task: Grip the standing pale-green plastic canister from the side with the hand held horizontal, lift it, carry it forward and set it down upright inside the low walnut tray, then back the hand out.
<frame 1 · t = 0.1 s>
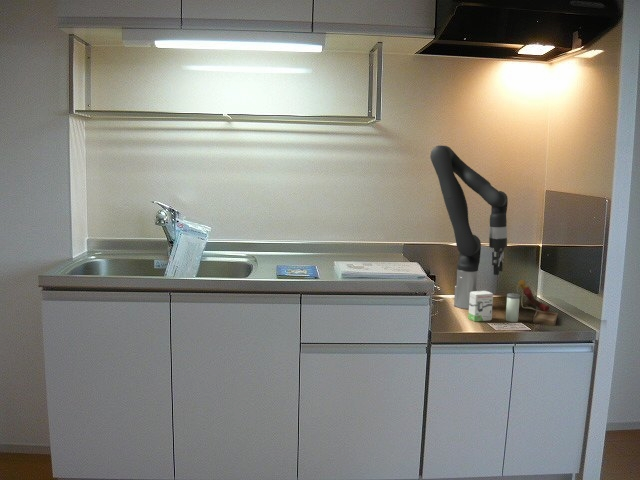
hand: (498, 272, 239), 17 cm above the countertop, tool pointing down, fingers open, 8 cm apart
slingshot: (528, 309, 246), on the countertop
ink box: (479, 319, 228), on the countertop
tray: (545, 319, 228), on the countertop
canister: (511, 320, 228), on the countertop
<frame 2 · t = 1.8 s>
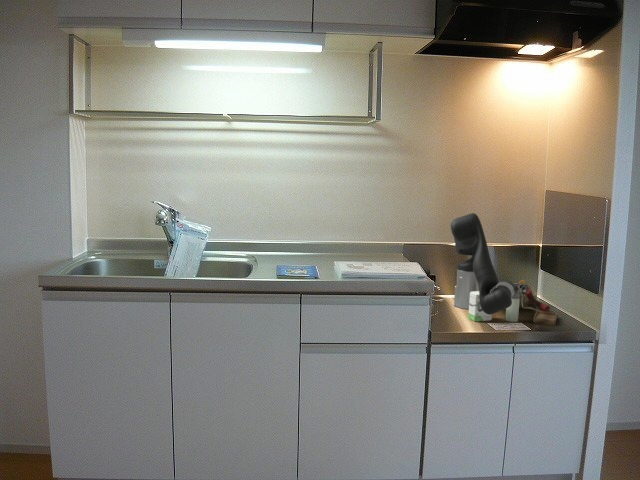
hand: (510, 283, 215), 18 cm above the countertop, tool horizontal, fingers open, 8 cm apart
nothing on the countertop moved.
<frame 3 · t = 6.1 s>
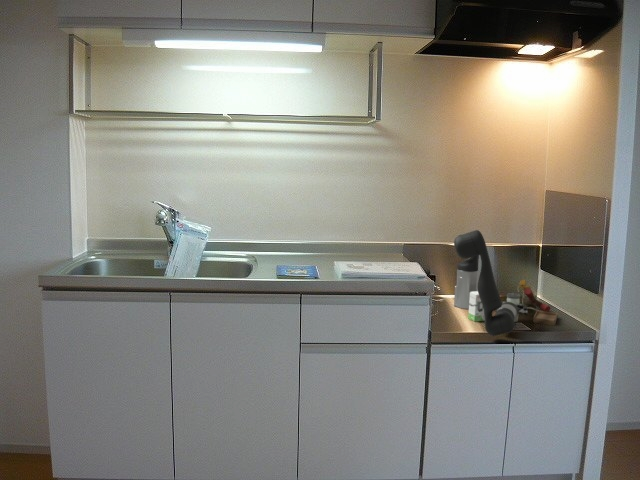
hand: (513, 303, 229), 7 cm above the countertop, tool horizontal, fingers closed on canister, 5 cm apart
canister: (511, 320, 228), on the countertop, touching gripper
everything else where it was.
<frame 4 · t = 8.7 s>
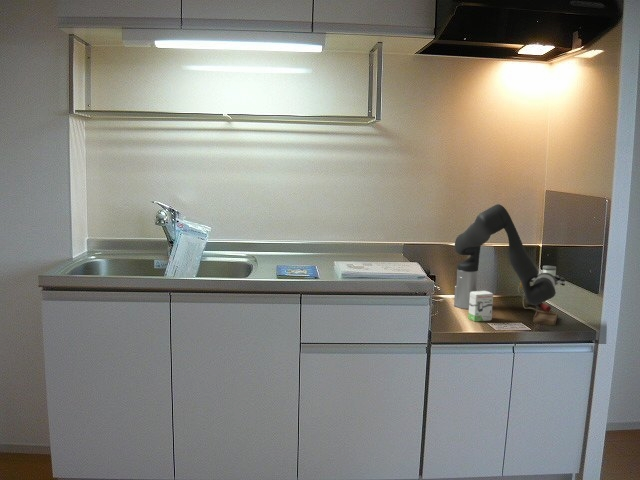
hand: (549, 276, 227), 19 cm above the countertop, tool horizontal, fingers closed on canister, 5 cm apart
canister: (547, 292, 225), point 12 cm above the countertop, touching gripper
everything else where it was.
when the fingers open (8 cm above the countertop, at t = 11.6 s): canister stays where it is, resting on tray.
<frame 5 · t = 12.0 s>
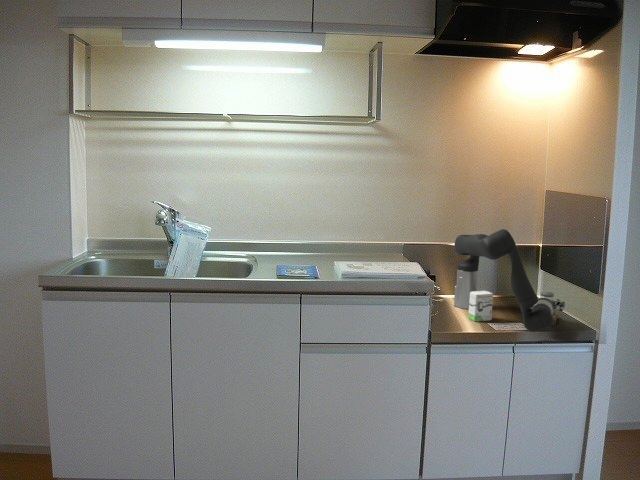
hand: (547, 300, 228), 9 cm above the countertop, tool horizontal, fingers open, 8 cm apart
canister: (545, 318, 227), point 1 cm above the countertop, touching tray
everything else where it was.
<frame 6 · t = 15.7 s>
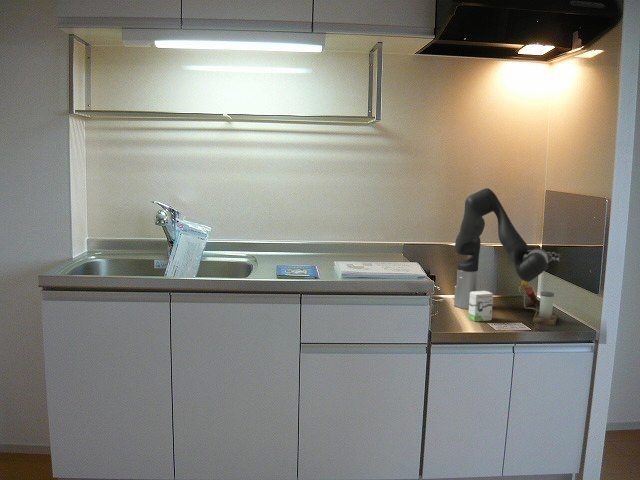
hand: (542, 253, 217), 30 cm above the countertop, tool horizontal, fingers open, 8 cm apart
at the end: canister inside the target area on the tray (1.1 cm from its centre), point 1.0 cm above the tray's base; canister tilted 1°; the gripper is holding nothing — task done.
